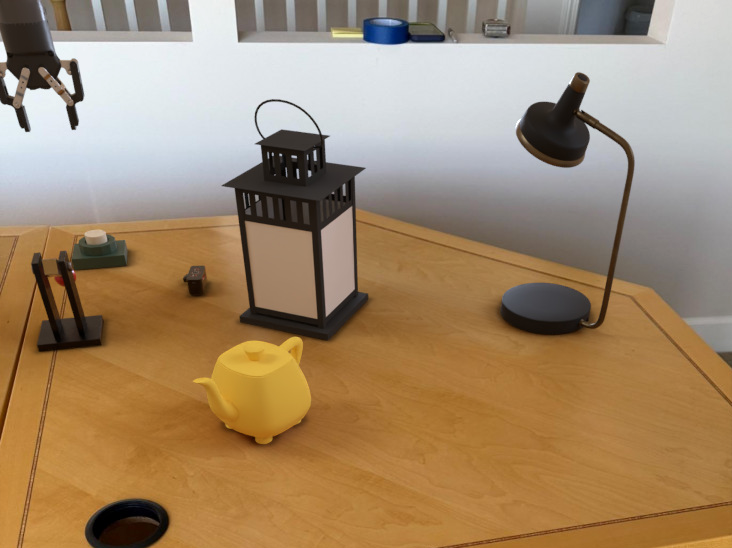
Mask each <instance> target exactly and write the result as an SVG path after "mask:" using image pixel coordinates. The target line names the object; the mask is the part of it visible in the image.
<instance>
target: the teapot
mask: <svg viewBox="0 0 732 548" xmlns="http://www.w3.org/2000/svg"><path fill="white" fill-rule="evenodd" d="M303 347H304V342H303V339H302V338H301V337H300V336H299V337H298V336H291V337H289V338H287V340H285V341H284V342H282V343H281V344H280V345H276V344H274V343H270V342H266V341H263V340H247V341H244V342H241V343H239V344H237V345H234V346H232V347H231V348H230V349H228V350H226V351H224V352H223V353H221V354H220V355H219V356H218V357H217V359H216V362H215V364H214V367H213V371H212V373H211V377H199V378H195V379H193V380H192V383H194V384H197V385H200V386H202V387H203V388H204V390H205V392H206V397H207V402H208V406H209V407H210V410H211V411H212V412H213V414H214V415H215V416H216V417H217V418H218V419H219V420H220V421H221V422H222V423H224V425H225V427H226V428H227V429H230V430H233V431H235V432H237V433H240V434H244V435H245V436H249V437H254V441H255V442H256V443H257V444H260V445H267V444H269V443H271V442H272V441H273V439H274V438H273V437H275V436H277V435H280V434H282V433H284V432H286V431H287V430H289V429H291V428H292V427H294V426H296V425H299V424H300V423H301V422H302V419H304V417H305V416H306V415H307V413H308V411H309V410H310V408H311V405H312V395H311V390H310V387H309V383H308V381H307V378H306V376H305V374H304V372H303V371H302V369H301V367H300V362H301V359H302V355H303V349H304V348H303Z"/></svg>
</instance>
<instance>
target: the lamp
mask: <svg viewBox="0 0 732 548" xmlns="http://www.w3.org/2000/svg"><path fill="white" fill-rule="evenodd" d="M590 82H591V80H590V77H589V76H588V74H585V73H584V72H581V71H577V72H575V73H574V75H573V76H572V77H571V79H570V80H569V83H568V85H567V86H566V88H565V89H564V91H563V92H562V94H561V95H560V97H559V99H558V101H557V102H552V101H537V102H534V103H532V104H530V105H529V106H528V108H527V109H526V110H525V112H524V113H523V114H522V116H521V118H520V119H519V120H518V121H517V122H516V124H515V135H516V138H517V140H518V142H519V143H520V145H521V146H522V147H523V148H524V149H525V150H526V152H527V153H528V154H530V155H531V156H533V157H534V158H536V159H537V160H539V161H541V162H542V163H545V164H547V165H550V166H552V167H557V168H563V169H570V168H575V167H577V166H579V165H581V164H582V163H583V162H584V159H585V158H586V151H587V149H588V146H589V143H590V140H591V135H590V129H589V128H588V126H589V127H590V128H592V129H594V130H597V131H598V132H600V133H601V134H603V135H605V136H606V137H608V138H609V139H610V140H611V141H613V142H615V143H616V144H617V145H619V147H621V148H622V149H623V151H624V153H625V155H626V160H627V172H626V177H625V183H624V187H623V193H622V198H621V202H620V209H619V213H618V219H617V224H616V228H615V229H616V230H615V233H614V239H613V244H612V250H611V254H610V260H609V264H608V271H607V274H606V275H607V276H606V281H605V287H604V291H603V296H602V303H601V307H600V310H599V316H598V318H597V320H596V321H595V322H594V323H591V322H590V317H591V315H590V314H591V308H592V303H591V301H590V299H589V298H588V297H587V296H586V295H585V294H584V293H582V292H581V291H579V290H577V289H575V288H572V287H570V286H567V285H563V284H559V283H552V282H527V283H522V284H518V285H515V286H512V287H510V288H509V289H507V290H506V291H505V292H504V293H503V295H502V297H501V304H500V309H499V313H500V316H501V317H502V319H503V320H504V321H505V322H507V323H508V324H509V325H511V326H513V327H514V328H517V329H519V330H522V331H525V332H528V333H533V334H537V335H550V336H551V335H552V336H553V335H565V334H570V333H573V332H576V331H579V330H581V329H583V328H585V329H588V330H595V329H598V328H599V327H601V326H602V325H603V323H604V322H605V319H606V315H607V311H608V307H609V302H610V298H611V292H612V286H613V283H614V278H615V277H614V276H615V272H616V268H617V261H618V258H619V257H618V256H619V251H620V248H621V247H620V246H621V241H622V236H623V231H624V226H625V221H626V216H627V211H628V205H629V201H630V196H631V190H632V184H633V179H634V175H635V164H636V161H635V154H634V151H633V148H632V146H631V145H630V143H629V142H628V141H627V140H626V139H625V138H624V137H623V136H622V135H620V134H619V133H617V132H616V131H614V130H613V129H611V128H610V127H608V126H606V125H605V124H603V123H602V122H601V121H600V120H599V119H598V118H596V117H594V116H593V115H591V114H590V113H588V112H587V111H585V110H583V109H581V105H582V103H583V100H584V97H585V95H586V92H587V90H588V87H589V85H590Z"/></svg>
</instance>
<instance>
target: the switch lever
mask: <svg viewBox="0 0 732 548" xmlns="http://www.w3.org/2000/svg"><path fill="white" fill-rule="evenodd" d="M42 265H43V270H44V275H46V276H47V277H48V278H53V279H54V281H55V282H56V283H57V285H59V286H60V287H63V288H65V285H64V282H63V278H62V275H61V271H60V268H59V264H58V259H57V258H54V257H53V258H42ZM72 272H73V276H74V280H75V282H76V281H77V274H76V271H75V270H74V269H73V271H72Z"/></svg>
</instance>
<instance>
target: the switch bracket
mask: <svg viewBox="0 0 732 548" xmlns="http://www.w3.org/2000/svg"><path fill="white" fill-rule="evenodd" d="M42 259H43V257H42V254H41V252H34V253H33V255H32V259H31V262H30V268H31V272H32V275H34V278H35V281H36V284H37V287H38V291H39V295H40V297H41V300H42V304H43V307H44V309H45V313H46V316H47V319H45V320H42V321H41V324H40V325H41V326H40V329H39V334H38V339H37V343H36V347H37V350H38V352H47V351H48V352H49V351H57V350H67V349H77V348H78V349H79V348H89V347H98V346H102V344H103V334H104V323H105V321H104V317H103V314H98V315H87V316H85V315H86V314H85V312H84V308H83V304H82V300H81V297H80V295H79V289H78V286H77V282H76V281H75V280H74V276H73V272H72V271H73V270H74V267H73V263H72V261H70V258H69V255H68V251H67V250H60V251H59V255H58V259H57V260H58V264H59V268H60V271H61V275H62V278H63V282H64V285H65V287H64V289H65V292H66V296H67V299H68V302H69V305H70V308H71V312H72V316H73V317H65V318H61V315H60V312H59V309H58V305H57V303H56V299H55V296H54V293H53V290H52V287H51V283H50V279H49V277H47V276H46V275H44V270H43V265H42Z"/></svg>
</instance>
